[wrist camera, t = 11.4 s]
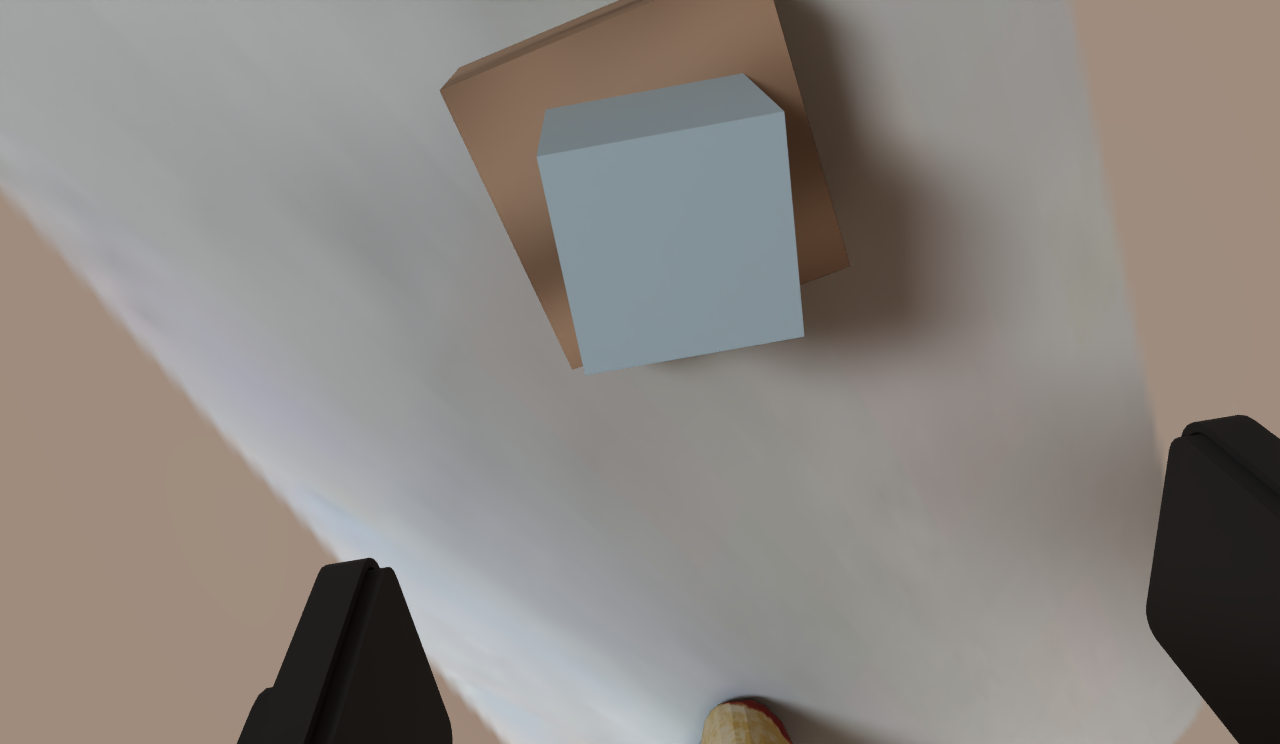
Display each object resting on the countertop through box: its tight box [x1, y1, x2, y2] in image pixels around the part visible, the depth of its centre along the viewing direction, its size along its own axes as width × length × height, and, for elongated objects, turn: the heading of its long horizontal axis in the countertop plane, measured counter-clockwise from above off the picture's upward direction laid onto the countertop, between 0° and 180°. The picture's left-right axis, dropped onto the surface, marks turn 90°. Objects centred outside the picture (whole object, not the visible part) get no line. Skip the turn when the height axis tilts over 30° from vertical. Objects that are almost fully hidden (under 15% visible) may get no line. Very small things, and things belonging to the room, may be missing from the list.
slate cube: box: [537, 73, 804, 375], centre depth 25 cm, size 6×6×6 cm
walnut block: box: [440, 0, 850, 370], centre depth 30 cm, size 10×10×5 cm
